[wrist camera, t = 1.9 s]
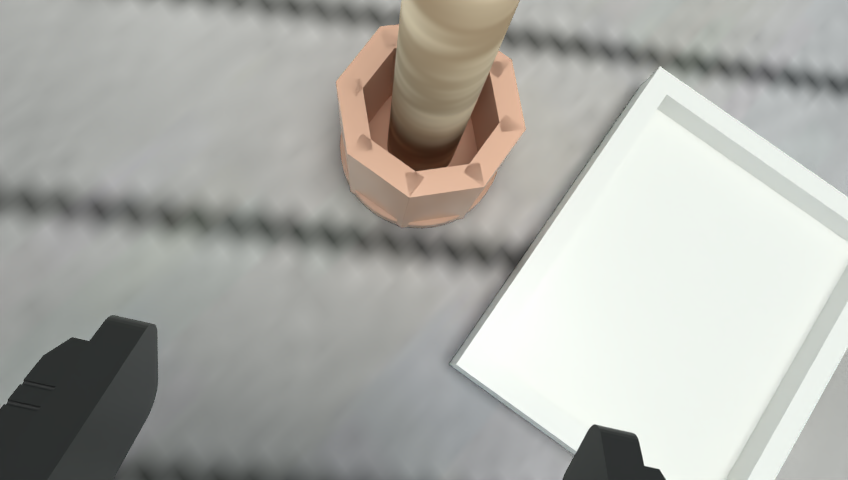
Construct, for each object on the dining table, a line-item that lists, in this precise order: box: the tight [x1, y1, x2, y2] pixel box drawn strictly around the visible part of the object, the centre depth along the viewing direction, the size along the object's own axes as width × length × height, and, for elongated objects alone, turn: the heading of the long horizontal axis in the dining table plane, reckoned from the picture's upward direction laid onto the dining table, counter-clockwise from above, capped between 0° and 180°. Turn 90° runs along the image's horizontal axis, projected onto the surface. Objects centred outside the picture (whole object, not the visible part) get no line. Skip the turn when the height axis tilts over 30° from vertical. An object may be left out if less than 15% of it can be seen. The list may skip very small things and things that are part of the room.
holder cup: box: [336, 24, 526, 228], centre depth 30 cm, size 8×8×6 cm
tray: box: [449, 67, 848, 480], centre depth 31 cm, size 14×17×2 cm
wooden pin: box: [387, 0, 520, 171], centre depth 24 cm, size 3×3×16 cm
